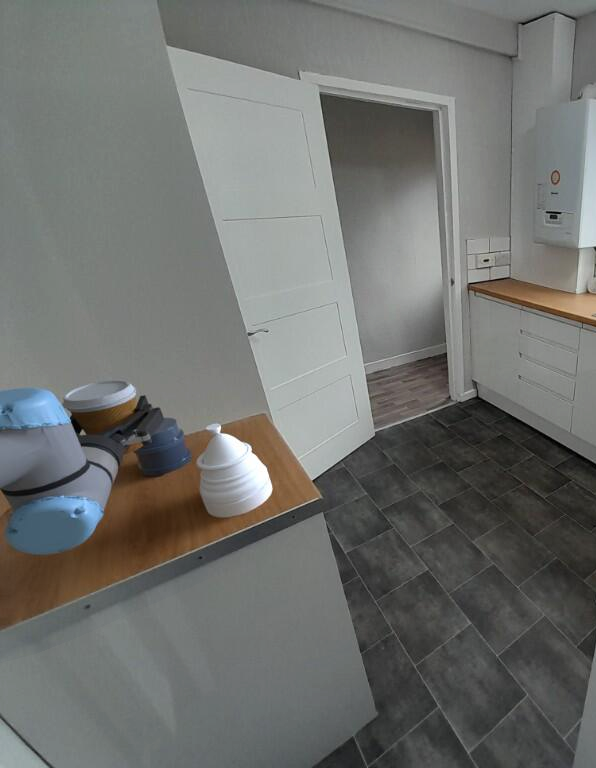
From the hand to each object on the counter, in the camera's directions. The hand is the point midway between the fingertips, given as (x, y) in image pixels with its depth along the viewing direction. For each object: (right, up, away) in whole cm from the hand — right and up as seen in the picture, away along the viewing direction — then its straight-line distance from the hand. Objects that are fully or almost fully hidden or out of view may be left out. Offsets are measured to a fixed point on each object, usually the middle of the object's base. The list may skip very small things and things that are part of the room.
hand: (115, 407), depth 77 cm
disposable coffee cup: (+3, -8, -1) cm, 8 cm away
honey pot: (+13, -22, +16) cm, 30 cm away
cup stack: (-13, -16, +27) cm, 34 cm away
